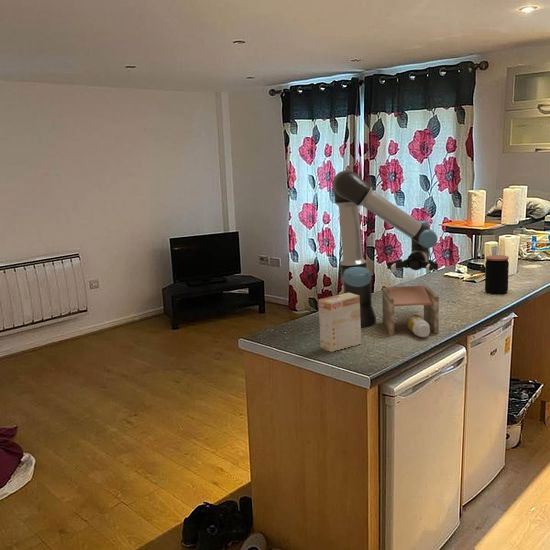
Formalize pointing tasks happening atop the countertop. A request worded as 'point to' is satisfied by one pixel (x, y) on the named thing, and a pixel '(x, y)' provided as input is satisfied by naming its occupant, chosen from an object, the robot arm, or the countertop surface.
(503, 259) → the coffee jar
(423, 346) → the countertop surface
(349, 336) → the coffeecake box
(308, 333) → the countertop surface
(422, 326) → the supplement bottle
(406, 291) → the trapdoor
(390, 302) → the stand
